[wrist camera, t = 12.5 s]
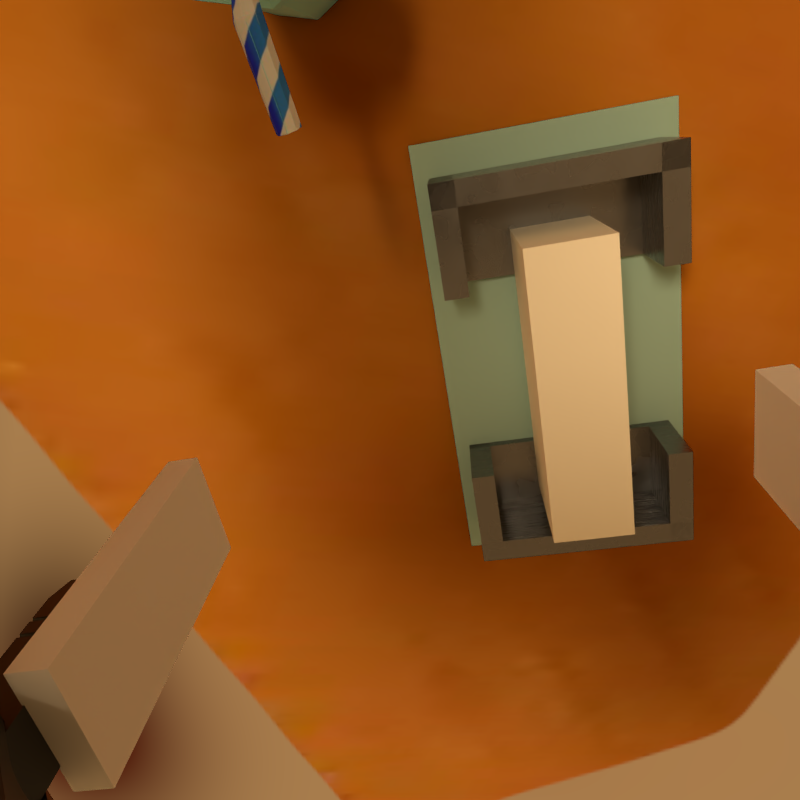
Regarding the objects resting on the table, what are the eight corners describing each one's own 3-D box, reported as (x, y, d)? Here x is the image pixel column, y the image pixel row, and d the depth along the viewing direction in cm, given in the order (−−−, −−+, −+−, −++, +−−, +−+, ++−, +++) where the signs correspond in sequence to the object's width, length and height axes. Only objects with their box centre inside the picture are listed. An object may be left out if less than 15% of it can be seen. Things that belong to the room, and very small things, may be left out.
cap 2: (670, 500, 39) (693, 539, 35) (480, 521, 40) (484, 561, 37) (668, 419, 37) (692, 451, 33) (469, 445, 38) (471, 478, 35)
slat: (509, 229, 33) (522, 248, 27) (589, 215, 32) (619, 232, 27) (538, 484, 38) (554, 543, 33) (607, 475, 38) (634, 534, 32)
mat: (408, 146, 33) (408, 146, 32) (675, 95, 31) (678, 95, 31) (471, 542, 41) (471, 546, 41) (682, 519, 40) (684, 523, 39)
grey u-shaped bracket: (429, 178, 33) (427, 184, 29) (661, 136, 31) (690, 137, 28) (445, 283, 35) (444, 301, 31) (664, 248, 33) (691, 262, 30)
